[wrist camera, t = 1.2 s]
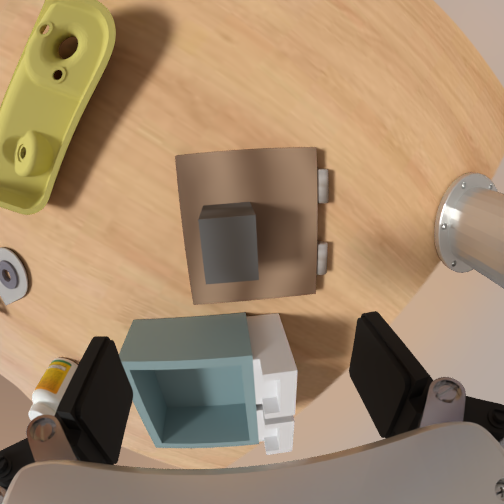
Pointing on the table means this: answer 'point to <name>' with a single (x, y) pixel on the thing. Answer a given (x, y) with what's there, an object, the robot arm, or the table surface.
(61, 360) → the supplement bottle
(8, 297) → the bracket
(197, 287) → the door
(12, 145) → the plastic component
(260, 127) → the table surface
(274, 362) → the cabinet
